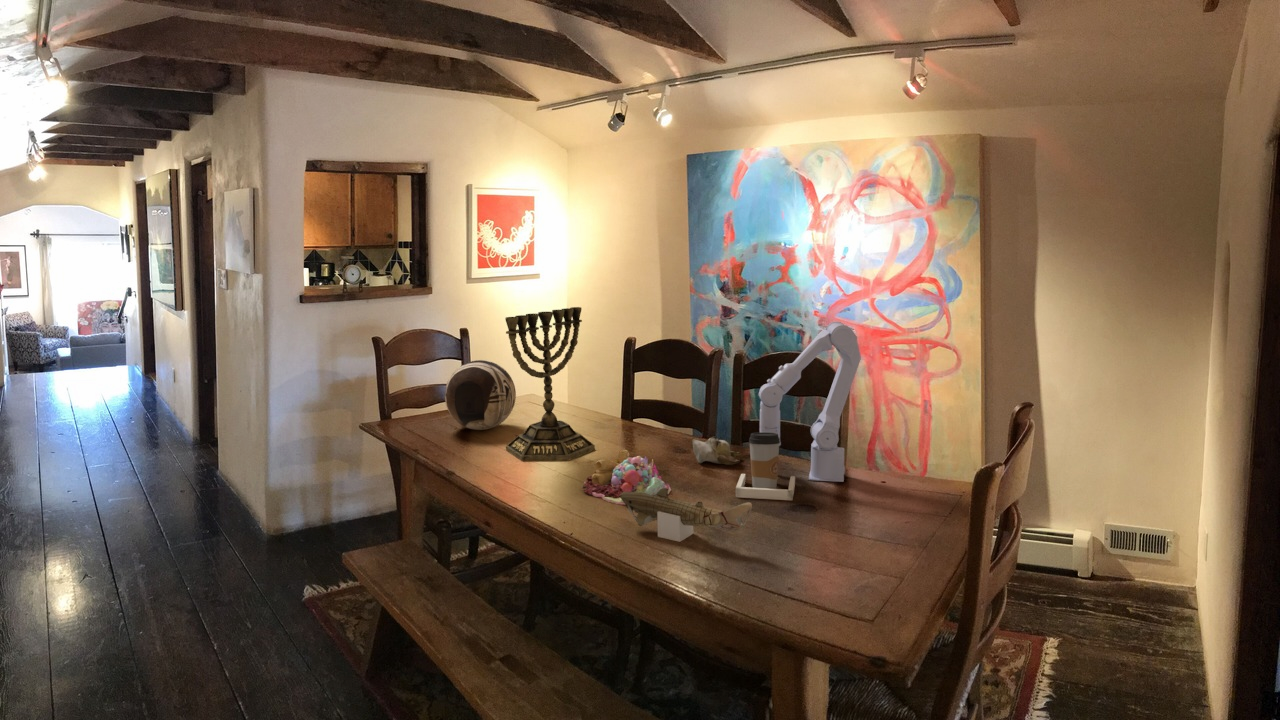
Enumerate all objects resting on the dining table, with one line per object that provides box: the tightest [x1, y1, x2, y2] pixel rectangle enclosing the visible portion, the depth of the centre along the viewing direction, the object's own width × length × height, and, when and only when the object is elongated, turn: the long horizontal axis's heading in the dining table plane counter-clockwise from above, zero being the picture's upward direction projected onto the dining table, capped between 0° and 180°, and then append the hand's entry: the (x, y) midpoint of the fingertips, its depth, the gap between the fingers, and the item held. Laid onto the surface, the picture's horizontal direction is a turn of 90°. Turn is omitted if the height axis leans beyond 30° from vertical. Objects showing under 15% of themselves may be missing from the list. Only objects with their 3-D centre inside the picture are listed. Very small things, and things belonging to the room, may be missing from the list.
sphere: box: [444, 359, 517, 431], centre depth 297 cm, size 25×25×25 cm
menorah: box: [505, 306, 596, 462], centre depth 265 cm, size 36×25×45 cm
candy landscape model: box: [581, 449, 672, 506], centre depth 227 cm, size 25×24×9 cm
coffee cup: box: [748, 432, 781, 489], centre depth 223 cm, size 8×8×15 cm
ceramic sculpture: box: [692, 435, 743, 466], centre depth 250 cm, size 11×9×15 cm
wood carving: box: [620, 488, 753, 543], centre depth 191 cm, size 9×35×11 cm, turn 55°
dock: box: [735, 473, 796, 501], centre depth 223 cm, size 15×13×2 cm
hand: (769, 473), depth 235 cm, fingers open, 7 cm apart
